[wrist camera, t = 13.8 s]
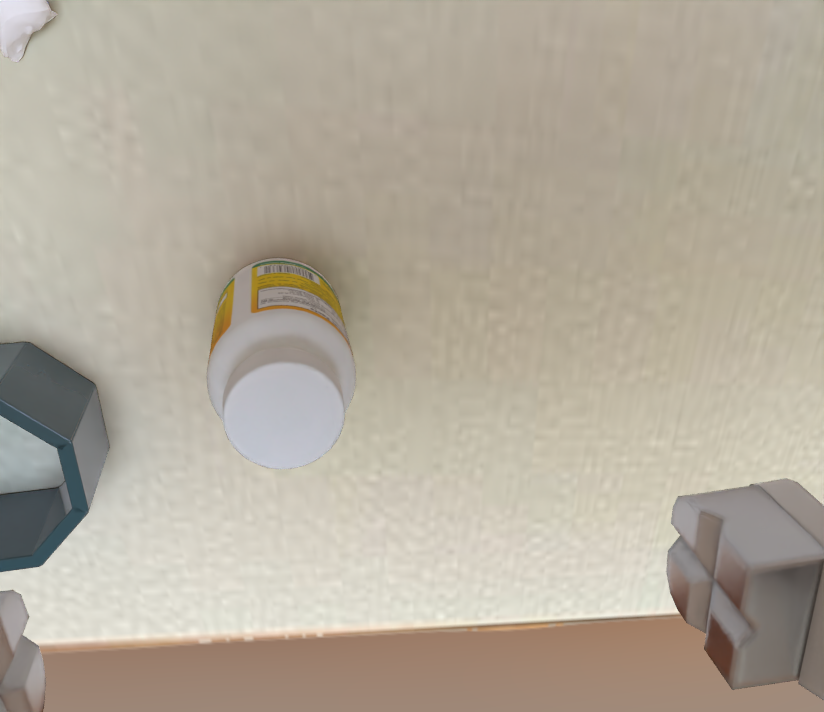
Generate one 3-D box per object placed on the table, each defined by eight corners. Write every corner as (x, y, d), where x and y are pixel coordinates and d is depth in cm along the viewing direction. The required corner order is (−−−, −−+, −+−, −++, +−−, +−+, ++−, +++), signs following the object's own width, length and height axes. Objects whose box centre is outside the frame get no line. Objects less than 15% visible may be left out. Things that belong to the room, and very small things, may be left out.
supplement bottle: (298, 231, 33) (314, 310, 24) (361, 331, 35) (396, 435, 27) (189, 296, 33) (166, 397, 25) (259, 391, 36) (261, 513, 27)
